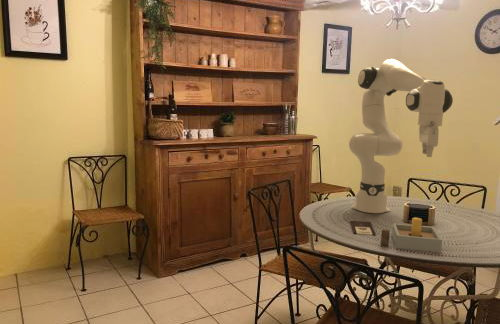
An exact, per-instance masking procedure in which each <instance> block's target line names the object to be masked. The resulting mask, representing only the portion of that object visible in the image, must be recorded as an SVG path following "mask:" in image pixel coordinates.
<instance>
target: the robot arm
mask: <svg viewBox="0 0 500 324" xmlns="http://www.w3.org/2000/svg"><path fill="white" fill-rule="evenodd" d="M357 83H358V86H359V87H360V88H362V89H365V91H364V92H363V94H362V101H361V102H362V103H361V111H362V114H361V115H362V124H363V125H364V127H365V128H366V129H368V130H369V131H371V132H372V133H370V132H369V133H367V132H366V133H365V132H364V133H356V134H353V135H352V136H351V137H350V140H349V141H348V142H349V143H348V144H349V145H348V147H349V150H350V152H351V153H352V154H353V155H355V156H356V157H357V159H358V161H359V162H360V166H361V179H360V180H361V181H360V183H359V190H358V191H357V192H356V193H355V202H354V203H353V204H352V205H351V209H354V210H356V211H357V210H358V211H359V212H364V213H369V214H384V213H387V212H388V213H389V212H390V211H391V209H390V208H389V207H388V206H387V204H388V194H386V193H385V188H386V183H385V176H386V174H385V173H386V170H385V166H383V165H382V164H381V163H379V162H377V161H375V156H377V157H378V156H380V157H389V156H391V157H392V156H396V155H399V153H400V152H401V151H402V149H403V141H402V139H401V136H398V135H397V134H396V133H394V131H393V130H392V129H391V128H390V126H389V125H388V122H387V117H386V111H385V110H386V109H385V96H388V97H390V96H392V94H394V93H396V92H397V91H399V92H407V94H406V96H405V105H406V107H407V109H408V110H409V111H410V112H416V113H417V112H418V120H417V125H418V126H419V128H418V131H419V133H418V135H419V138H418V139H419V142H421V143H422V144H421V146H422V147H421V148H422V154H423V155H425V156H426V157H427V158H432V157H433V152H434V147H438V144H439V133H440V132H439V127H442V126H443V119H444V118H443V117H444V113H446V112H447V111H448V110H449V109H451V107H452V105H453V100H454V99H453V96H452V94H451V92H450V91H449V90H448V89H447V88H446V87H445V83H444V81H441V80H437V79H427V78H425V77H422V76H421V75H420V74H417V73H416V72H414V71H412V70H411V69H409V68H408V67H407V66H406V65H405V64H403V63H402V62H400V61H398V60H396V59H394V58H390V59H386V60H384V61H383V62H382V63H381V65H380V67H379V68H378V67H375V66H371V67H364V68H363V69H361V70H360V72H359V74H358V79H357Z"/></svg>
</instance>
